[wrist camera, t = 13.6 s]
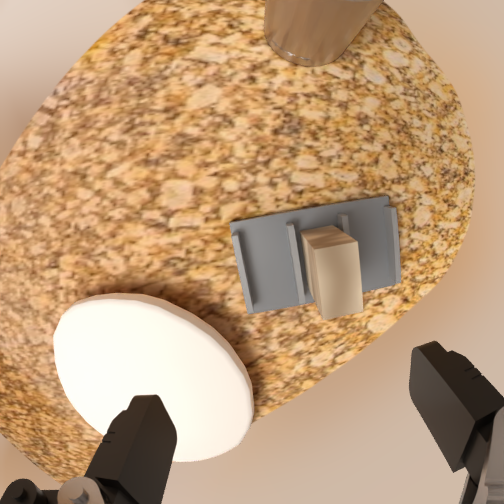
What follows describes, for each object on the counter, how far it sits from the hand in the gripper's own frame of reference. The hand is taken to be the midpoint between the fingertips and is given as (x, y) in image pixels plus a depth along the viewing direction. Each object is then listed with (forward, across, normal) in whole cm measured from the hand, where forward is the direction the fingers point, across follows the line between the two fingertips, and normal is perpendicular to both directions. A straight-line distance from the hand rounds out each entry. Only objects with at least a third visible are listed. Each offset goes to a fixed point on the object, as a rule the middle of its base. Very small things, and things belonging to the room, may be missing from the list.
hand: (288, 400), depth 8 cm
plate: (+24, +18, +16) cm, 34 cm away
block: (+23, -5, +3) cm, 24 cm away
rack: (+24, -5, +3) cm, 25 cm away
